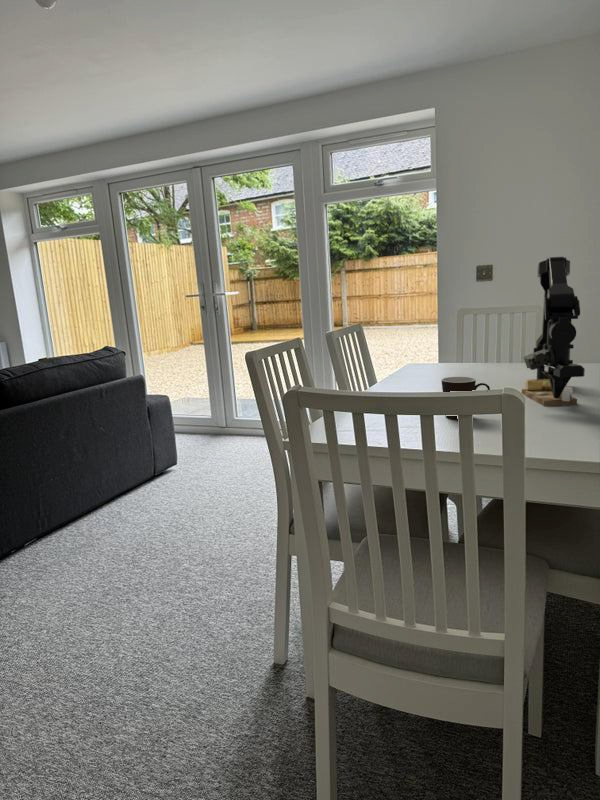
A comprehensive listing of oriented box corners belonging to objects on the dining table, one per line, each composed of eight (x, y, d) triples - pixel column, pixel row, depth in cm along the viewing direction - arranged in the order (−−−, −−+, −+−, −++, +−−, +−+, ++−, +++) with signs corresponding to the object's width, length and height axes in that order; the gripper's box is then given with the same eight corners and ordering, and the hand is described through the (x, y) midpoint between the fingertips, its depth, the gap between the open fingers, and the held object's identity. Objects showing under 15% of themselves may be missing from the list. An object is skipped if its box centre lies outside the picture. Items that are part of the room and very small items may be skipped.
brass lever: (550, 387, 173) (551, 377, 172) (556, 389, 169) (556, 380, 168) (524, 388, 173) (524, 379, 172) (528, 390, 169) (529, 381, 168)
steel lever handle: (555, 395, 161) (556, 385, 161) (571, 395, 160) (571, 385, 160) (557, 401, 154) (558, 390, 154) (574, 401, 153) (574, 391, 152)
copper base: (521, 393, 174) (521, 388, 173) (551, 392, 173) (551, 386, 173) (543, 405, 157) (543, 399, 157) (576, 404, 157) (577, 398, 156)
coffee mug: (437, 419, 148) (437, 381, 146) (445, 412, 155) (445, 376, 153) (484, 423, 143) (484, 383, 141) (490, 415, 150) (490, 377, 148)
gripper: (515, 338, 161) (514, 392, 164) (541, 345, 142) (539, 406, 146) (555, 336, 160) (553, 391, 164) (587, 343, 142) (583, 405, 145)
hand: (556, 398), depth 155 cm, fingers closed
